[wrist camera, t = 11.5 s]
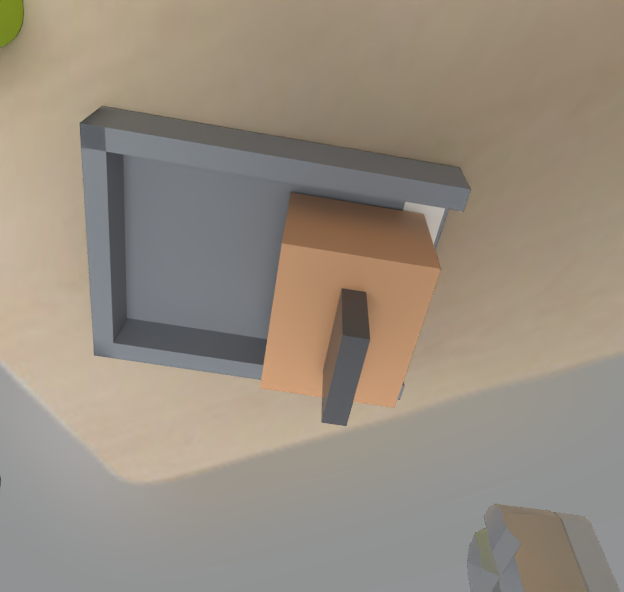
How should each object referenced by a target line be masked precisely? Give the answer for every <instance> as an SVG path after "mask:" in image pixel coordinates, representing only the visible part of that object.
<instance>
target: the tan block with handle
mask: <svg viewBox="0 0 624 592" xmlns="http://www.w3.org/2000/svg"><path fill="white" fill-rule="evenodd" d="M440 271H441V267H440V264H439V261H438V257H437V254H436V251H435V248H434V245H433V241H432V238H431V235H430V232H429V229H428V225H427V222H426V219H425V216H424V214H418V213H412V212H406V211H400V210H394V209H388V208H382V207H376V206H370V205H364V204H358V203H352V202H346V201H340V200H334V199H328V198H322V197H316V196H310V195H304V194H298V193H292V192H290V198H289V204H288V210H287V216H286V222H285V228H284V233H283V239H282V246H281V252H280V259H279V265H278V272H277V279H276V285H275V292H274V298H273V305H272V312H271V318H270V325H269V332H268V338H267V345H266V351H265V358H264V365H263V371H262V378H261V385H260V388H262V389H269V390H276V391H283V392H290V393H297V394H304V395H311V396H318V397H322V421H321V422H322V423H329V424H336V425H343V426H346V425H347V422H348V418H349V415H350V411H351V407H352V404H353V402H359V403H366V404H373V405H380V406H387V407H393V408H395V405H396V402H397V399H398V396H399V393H400V390H401V387H402V384H403V381H404V378H405V375H406V372H407V369H408V366H409V363H410V360H411V357H412V354H413V351H414V348H415V346H416V343H417V340H418V337H419V334H420V331H421V328H422V325H423V322H424V319H425V316H426V313H427V310H428V307H429V304H430V301H431V298H432V295H433V292H434V289H435V286H436V283H437V280H438V277H439V274H440Z"/></svg>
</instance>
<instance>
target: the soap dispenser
mask: <svg viewBox="0 0 624 592" xmlns="http://www.w3.org/2000/svg"><path fill="white" fill-rule="evenodd" d="M22 22H23V3H22V0H0V47H2V46H4V45H6V44H8V43H10V42H11V41H12V40H13V39H14V38H15V37H16V36H17V34H18V33H19V31H20V28H21V26H22Z"/></svg>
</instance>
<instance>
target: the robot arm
mask: <svg viewBox="0 0 624 592" xmlns="http://www.w3.org/2000/svg"><path fill="white" fill-rule="evenodd" d="M0 485H1V477H0ZM484 521H485V525H486V528H484V529H482V530H480V531H478V532H476V533H475V534H474V536H473V539H472V541H471V543H470V545H469V552H468V560H467V568H468V579H469V584H470V590H471V592H620V590H619V587H618V585H617V583H616V581H615V578H614V576H613V573H612V571H611V569H610V567H609V564H608V562H607V559H606V557H605V555H604V552H603V550H602V548H601V545H600V543H599V541H598V538H597V536H596V534H595V531H594V529H593V527H592V524H591V522H590V521H589V520H588V519H587V518H586V517H585V516H580V515H573V514H566V513H558V512H551V511H549V510H540V509H532V508H525V507H516V506H508V505H500V504H493V505H492V506H490V507H489V508H488V510H487V511H486V514H485V515H484Z"/></svg>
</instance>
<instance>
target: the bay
mask: <svg viewBox="0 0 624 592" xmlns="http://www.w3.org/2000/svg"><path fill="white" fill-rule="evenodd" d="M80 137H81V153H82V169H83V185H84V201H85V217H86V233H87V249H88V265H89V281H90V297H91V313H92V329H93V345H94V355H95V356H102V357H108V358H115V359H122V360H129V361H136V362H143V363H150V364H156V365H163V366H170V367H177V368H184V369H191V370H197V371H204V372H211V373H218V374H225V375H232V376H239V377H245V378H252V379H259V380H261V378H262V371H263V365H264V358H265V351H266V345H267V338H268V332H269V325H270V318H271V312H272V305H273V298H274V292H275V285H276V279H277V272H278V265H279V259H280V252H281V246H282V239H283V233H284V228H285V222H286V216H287V210H288V204H289V198H290V192H292V193H298V194H304V195H310V196H316V197H322V198H328V199H334V200H340V201H346V202H352V203H358V204H364V205H370V206H376V207H382V208H388V209H394V210H400V211H406V212H412V213H418V214H424V216H425V219H426V222H427V225H428V229H429V232H430V235H431V238H432V241H433V245H434V248H435V250H436V247H437V244H438V241H439V238H440V235H441V232H442V228H443V225H444V222H445V219H446V216H447V213H448V210H449V209H452V210H458V211H464V209H465V206H466V203H467V200H468V197H469V194H470V191H471V189H470V187H469V185H468V183H467V181H466V179H465V177H464V175H463V173H462V171H461V169H460V168H459V167H453V166H447V165H441V164H436V163H430V162H424V161H418V160H412V159H407V158H401V157H395V156H389V155H383V154H378V153H372V152H366V151H360V150H354V149H349V148H343V147H337V146H331V145H325V144H319V143H314V142H308V141H302V140H296V139H290V138H285V137H279V136H273V135H267V134H261V133H256V132H250V131H244V130H238V129H232V128H227V127H221V126H215V125H209V124H203V123H198V122H192V121H186V120H180V119H174V118H169V117H163V116H157V115H151V114H145V113H139V112H134V111H128V110H122V109H116V108H110V107H105V106H101V107H100V108H99V109H97V110H96V111H95V112H93V113H92V114H91V115H90V116H88V117H87V118H86V119H84V120H83V121H82V122H80ZM403 389H404V381H403V384H402V387H401V390H400V393H399V396H398V399H397V400H400V398H401V395H402V392H403Z"/></svg>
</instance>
